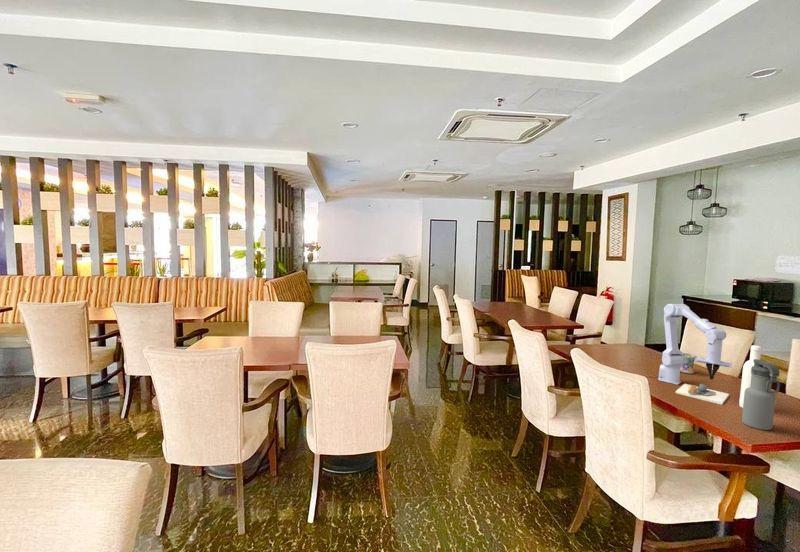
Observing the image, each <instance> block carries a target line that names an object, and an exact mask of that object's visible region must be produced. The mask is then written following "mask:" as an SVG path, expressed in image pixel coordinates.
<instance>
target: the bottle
mask: <svg viewBox="0 0 800 552" xmlns="http://www.w3.org/2000/svg"><path fill="white" fill-rule="evenodd" d="M761 357H762V346H761V345H755V344H754V345H751V346H750V353H749V360H747V361H745V363H744V364H743V365H742V373H741V374H742V375H741V383H740V384H741V385H740V393H739V400H738V403H739V404H738V405H739V407H740V408H742V409H743V403H744V393H745V389H746V388H748V387H750V384H751V375H752V374H751V367H752V366H754V362H753V361H754V359H758V360H761ZM763 367H765V366H763Z"/></svg>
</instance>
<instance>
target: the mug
mask: <svg viewBox="0 0 800 552" xmlns="http://www.w3.org/2000/svg"><path fill="white" fill-rule="evenodd" d="M682 353H683V357H684V359H685V363H684V364H683V365H682V367H680V373H683V374H688V375H689V374H694V373H695V370H694V364H695V358H698V356H696V355H695V354H692V353H686V352H682Z"/></svg>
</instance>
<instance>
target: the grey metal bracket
mask: <svg viewBox="0 0 800 552" xmlns="http://www.w3.org/2000/svg"><path fill="white" fill-rule="evenodd" d="M690 385H691V391H689V392H688V393H689V394H692V395H695V394H702V395H705V396H707V395H713V394H716V392H713V391H710V390H711V389H710V390H707V389H708V388H706V392H701V391H698V390H699V386H698V385H695V384H690Z"/></svg>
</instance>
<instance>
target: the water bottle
mask: <svg viewBox="0 0 800 552" xmlns="http://www.w3.org/2000/svg"><path fill="white" fill-rule="evenodd" d="M753 362H754V366H752V367H751V374H752V375H751V384H750V387H748V388H746V389H745V393H744V403H743V408H742V413H741V414H742V415H741V416H742V417H741V422H742V423H743V424H744V425H746V426H747V427H749V428H752V429H756V430H760V431H771V430H772V429H773V423H774V415H775V407H776V406H775V405H776V395H775V394H778V393H779V391H780V388H781V387H780V385H781V382H780V381H779V380H778V377H780V374H781V373H780V370H779V369H780V368H778V366H777V365H776V364H775V363H772V362H770V361H766V360H763V359H760V360H758V359H754V361H753ZM763 366H764V367H763ZM773 383H776V389H775V390H772V384H773Z"/></svg>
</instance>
